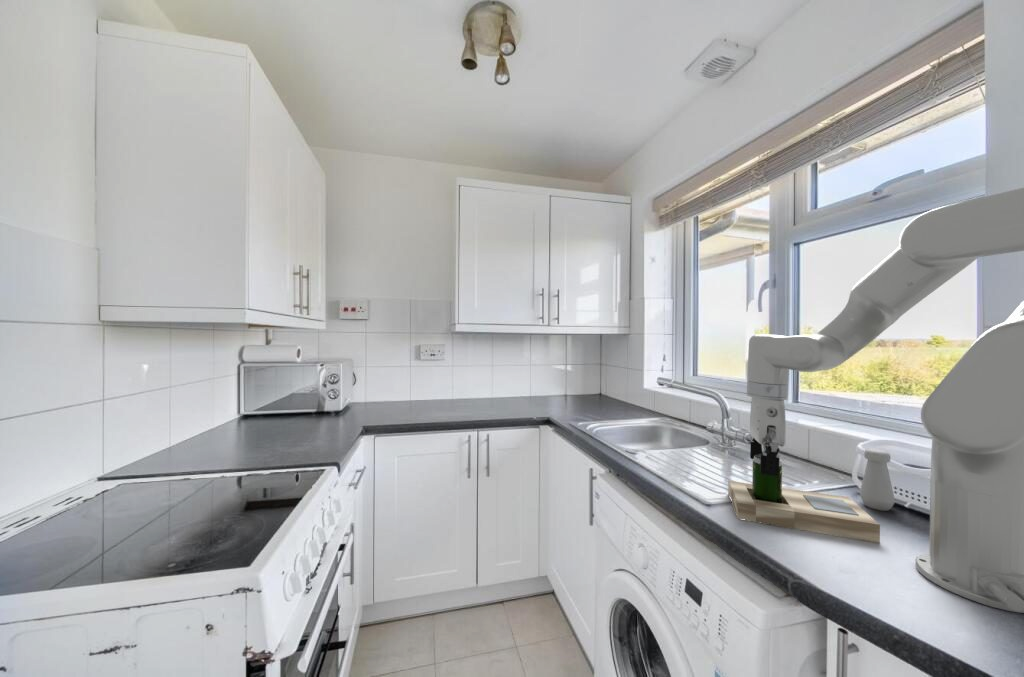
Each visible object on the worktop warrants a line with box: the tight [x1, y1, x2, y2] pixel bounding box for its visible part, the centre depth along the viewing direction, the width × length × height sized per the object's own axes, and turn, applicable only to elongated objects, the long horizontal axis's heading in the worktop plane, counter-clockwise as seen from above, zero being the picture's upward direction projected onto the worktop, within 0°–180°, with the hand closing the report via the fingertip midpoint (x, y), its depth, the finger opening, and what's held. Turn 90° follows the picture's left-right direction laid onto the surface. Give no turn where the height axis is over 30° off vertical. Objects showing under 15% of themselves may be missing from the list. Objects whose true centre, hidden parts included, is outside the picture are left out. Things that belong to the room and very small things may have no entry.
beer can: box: [751, 454, 783, 504], centre depth 82 cm, size 5×5×12 cm
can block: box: [727, 480, 881, 544], centre depth 80 cm, size 13×23×4 cm, turn 67°
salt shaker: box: [859, 448, 896, 512], centre depth 84 cm, size 6×6×13 cm
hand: (763, 466), depth 82 cm, fingers open, 9 cm apart
